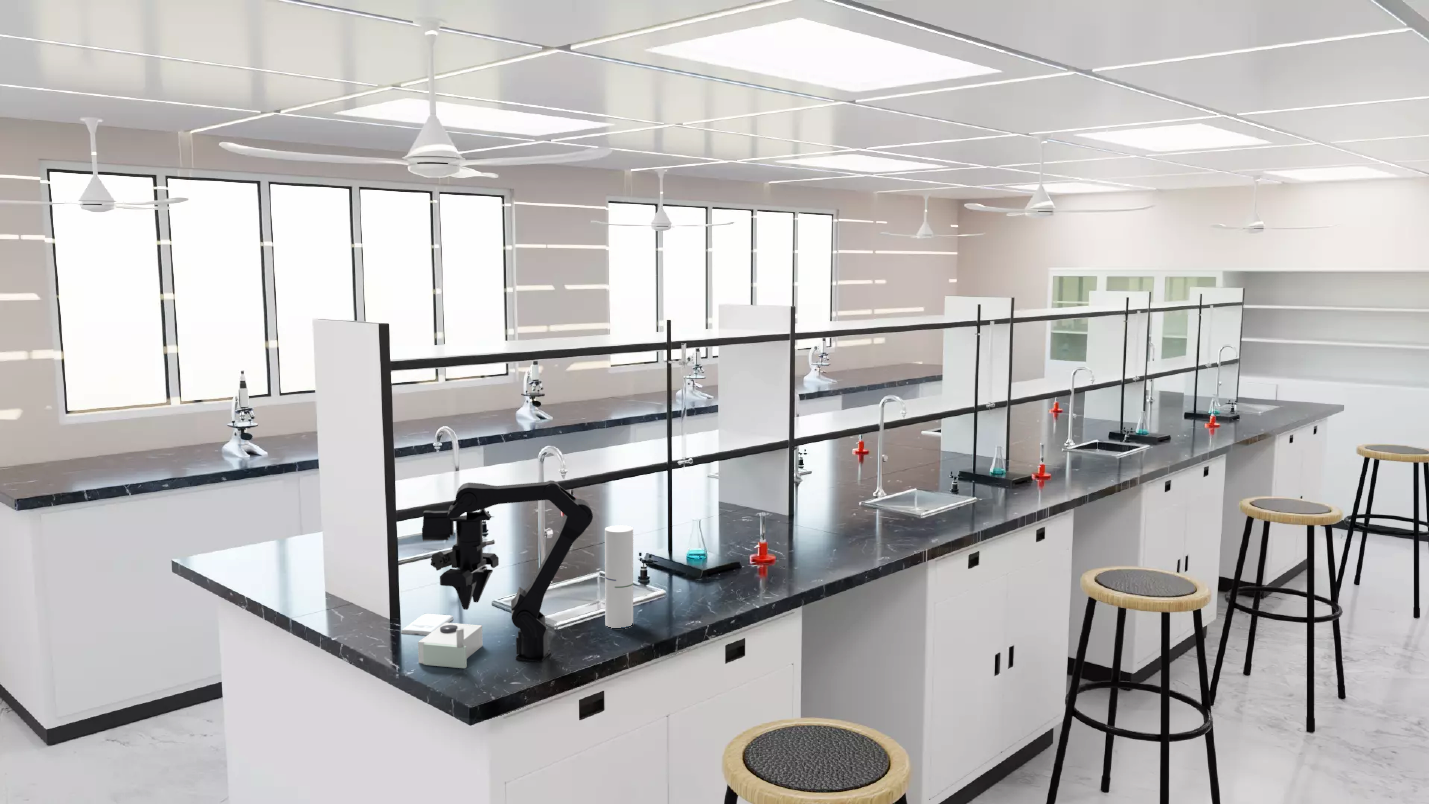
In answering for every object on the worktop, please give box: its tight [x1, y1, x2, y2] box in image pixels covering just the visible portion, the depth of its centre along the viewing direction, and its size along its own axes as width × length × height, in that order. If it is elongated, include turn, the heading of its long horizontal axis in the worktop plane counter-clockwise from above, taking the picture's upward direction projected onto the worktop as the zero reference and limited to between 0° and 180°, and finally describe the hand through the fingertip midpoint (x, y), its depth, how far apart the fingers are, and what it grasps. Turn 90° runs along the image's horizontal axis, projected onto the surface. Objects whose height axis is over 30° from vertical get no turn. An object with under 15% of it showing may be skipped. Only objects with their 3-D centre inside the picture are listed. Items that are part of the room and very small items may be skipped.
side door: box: [423, 628, 468, 669], centre depth 227 cm, size 10×2×9 cm, turn 79°
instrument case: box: [417, 622, 484, 664], centre depth 235 cm, size 10×14×6 cm
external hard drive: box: [400, 613, 454, 636], centre depth 255 cm, size 2×8×12 cm
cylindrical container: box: [604, 524, 634, 629], centre depth 256 cm, size 7×7×25 cm
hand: (470, 605), depth 230 cm, fingers open, 5 cm apart
